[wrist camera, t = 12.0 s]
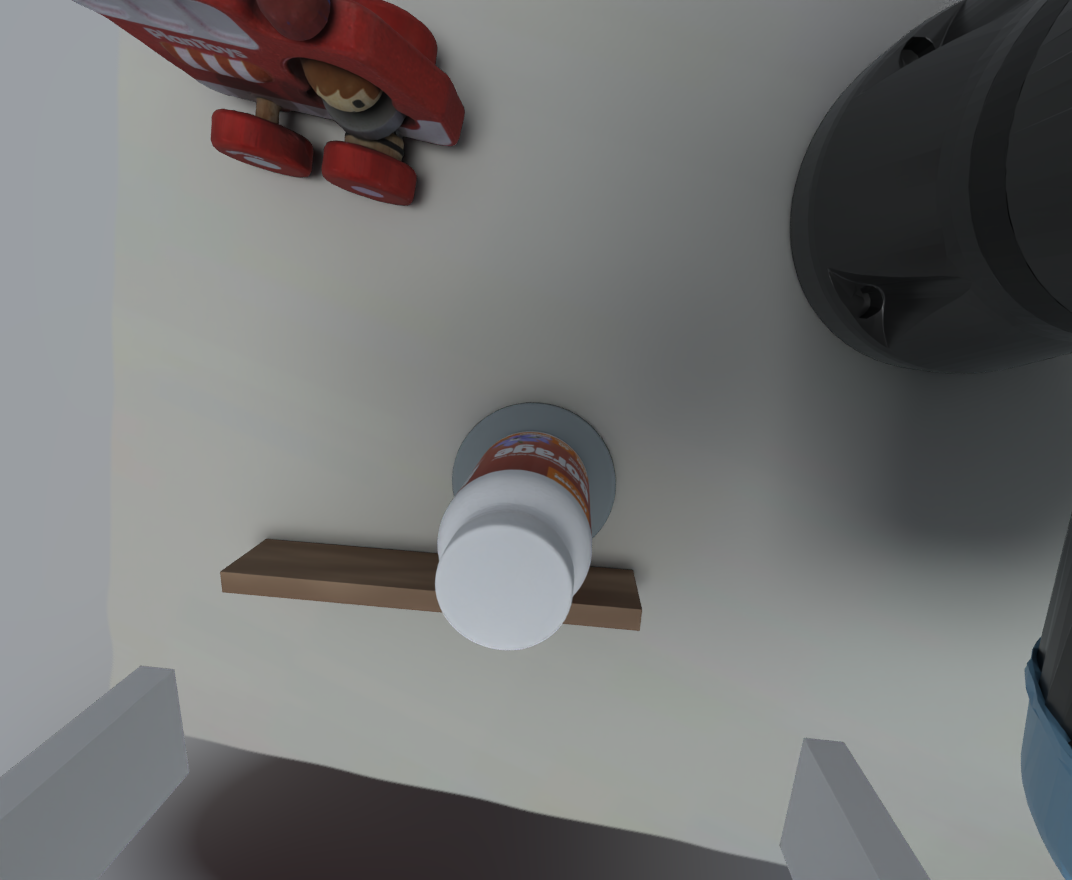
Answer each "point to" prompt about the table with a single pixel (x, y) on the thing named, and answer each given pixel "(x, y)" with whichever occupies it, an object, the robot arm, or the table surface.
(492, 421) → the slate pad
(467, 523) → the pill bottle
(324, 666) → the table surface
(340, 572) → the divider rail
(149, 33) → the toy fire truck
